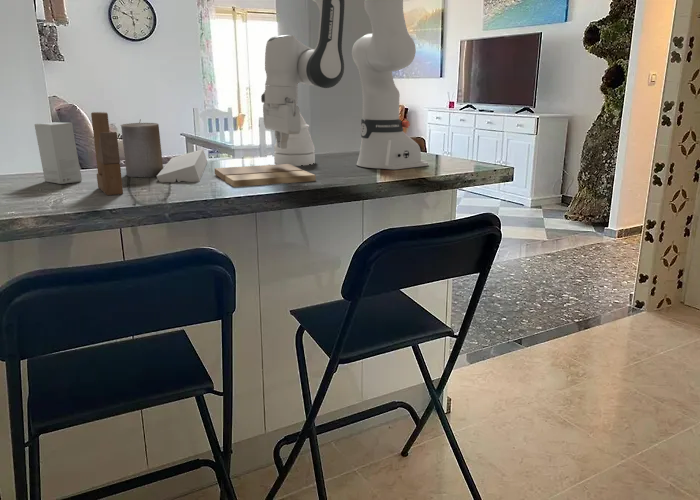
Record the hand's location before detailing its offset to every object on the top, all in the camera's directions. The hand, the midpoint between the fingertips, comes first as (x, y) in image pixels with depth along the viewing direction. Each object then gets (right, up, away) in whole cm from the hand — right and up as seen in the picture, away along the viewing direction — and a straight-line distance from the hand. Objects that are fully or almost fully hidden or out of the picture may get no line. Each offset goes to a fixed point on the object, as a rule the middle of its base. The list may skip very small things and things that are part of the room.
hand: (281, 147), depth 163 cm
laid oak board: (-1, -11, -11) cm, 16 cm away
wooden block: (-37, -15, -26) cm, 48 cm away
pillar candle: (-37, -8, -3) cm, 39 cm away
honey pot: (+2, -1, +21) cm, 21 cm away
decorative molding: (-28, -7, +3) cm, 29 cm away
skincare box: (-54, -12, -15) cm, 58 cm away
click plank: (-6, -8, -3) cm, 10 cm away
